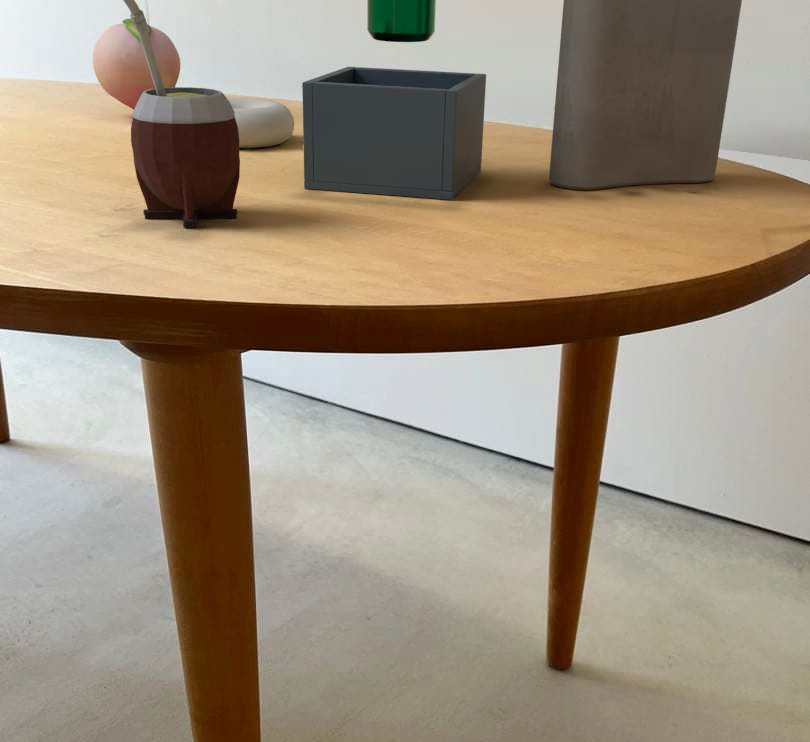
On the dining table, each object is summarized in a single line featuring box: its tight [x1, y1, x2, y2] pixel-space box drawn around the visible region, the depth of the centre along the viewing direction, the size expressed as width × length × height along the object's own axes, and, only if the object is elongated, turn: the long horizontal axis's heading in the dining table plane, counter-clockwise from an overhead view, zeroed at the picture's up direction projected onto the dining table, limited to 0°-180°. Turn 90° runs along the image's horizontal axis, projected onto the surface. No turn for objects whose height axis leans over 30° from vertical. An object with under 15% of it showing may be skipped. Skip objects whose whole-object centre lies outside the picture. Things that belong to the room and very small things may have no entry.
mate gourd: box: [123, 0, 241, 229], centre depth 72 cm, size 8×8×15 cm
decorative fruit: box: [92, 18, 181, 111], centre depth 112 cm, size 9×8×10 cm
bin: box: [301, 66, 487, 201], centre depth 87 cm, size 12×12×8 cm
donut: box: [226, 97, 295, 149], centre depth 102 cm, size 10×4×10 cm
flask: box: [548, 0, 743, 191], centre depth 86 cm, size 15×6×20 cm, turn 113°
